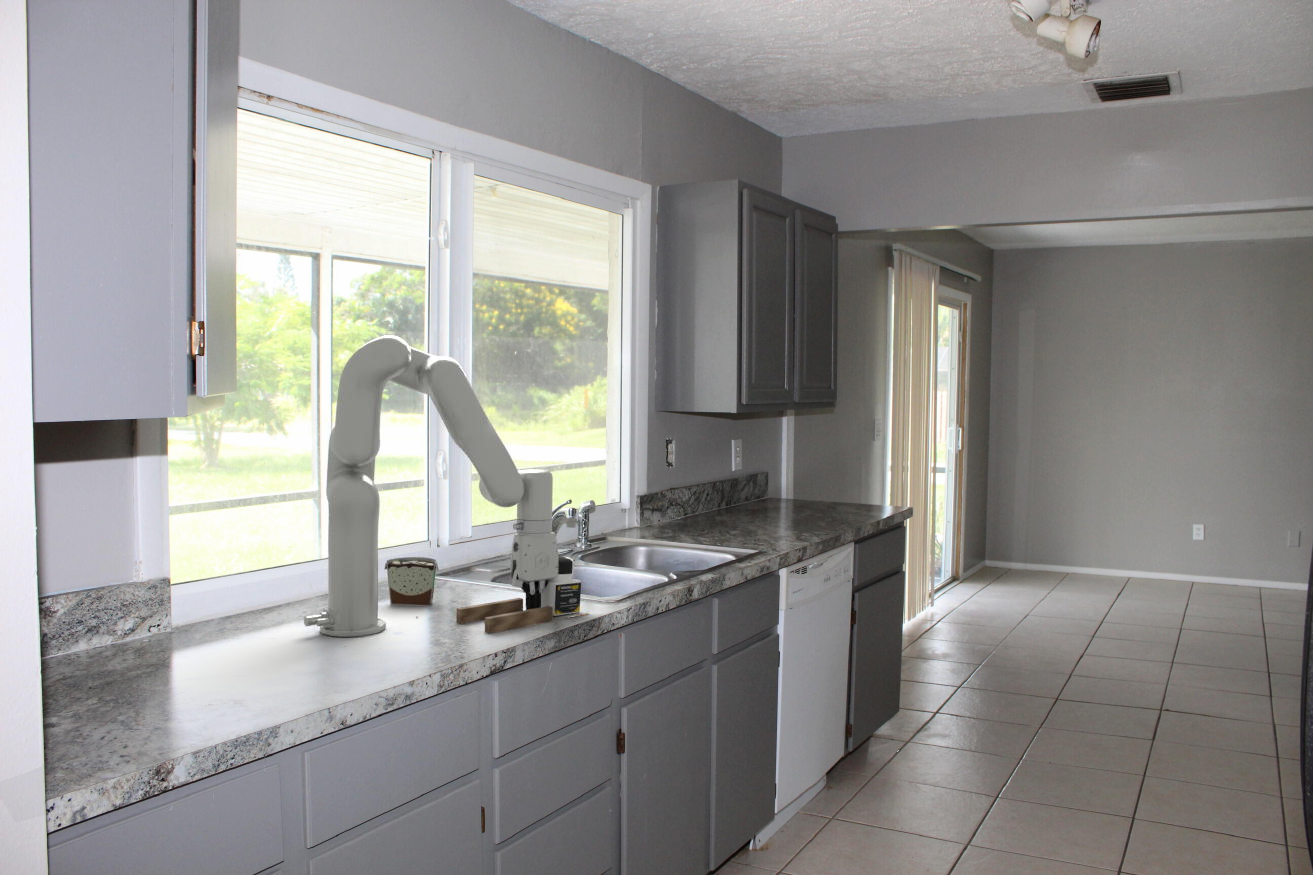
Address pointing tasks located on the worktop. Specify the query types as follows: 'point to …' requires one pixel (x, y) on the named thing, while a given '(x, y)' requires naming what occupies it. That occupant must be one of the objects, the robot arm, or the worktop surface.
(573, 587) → the medicine bottle
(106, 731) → the worktop surface
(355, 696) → the worktop surface
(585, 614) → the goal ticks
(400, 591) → the food container
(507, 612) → the chute
